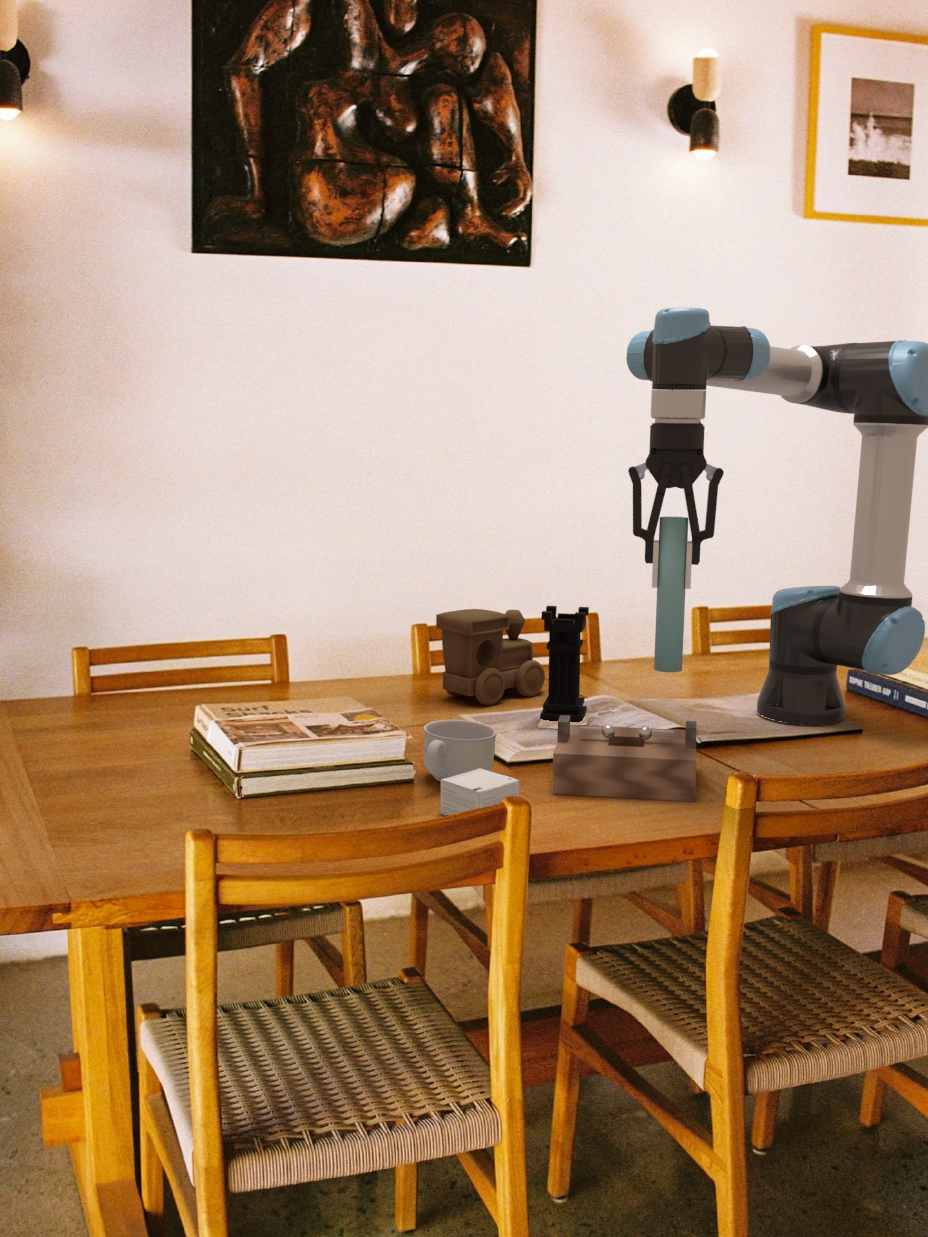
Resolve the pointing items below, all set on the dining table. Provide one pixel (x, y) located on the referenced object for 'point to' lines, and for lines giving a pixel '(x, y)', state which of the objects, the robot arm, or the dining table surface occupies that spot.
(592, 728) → the plunger
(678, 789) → the walnut socket block
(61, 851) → the dining table surface
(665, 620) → the teal peg
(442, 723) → the teacup
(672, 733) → the plunger
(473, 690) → the wooden toy train
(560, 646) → the chess piece
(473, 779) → the small box
